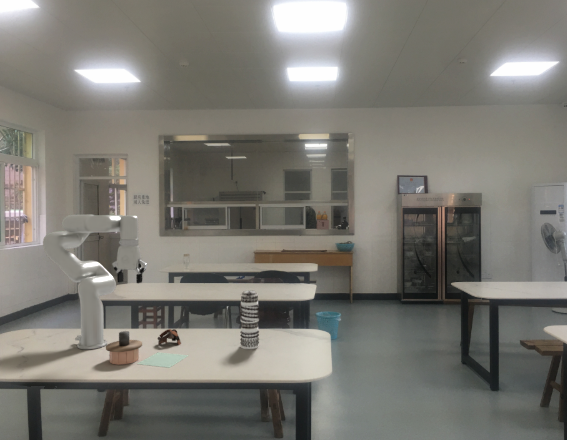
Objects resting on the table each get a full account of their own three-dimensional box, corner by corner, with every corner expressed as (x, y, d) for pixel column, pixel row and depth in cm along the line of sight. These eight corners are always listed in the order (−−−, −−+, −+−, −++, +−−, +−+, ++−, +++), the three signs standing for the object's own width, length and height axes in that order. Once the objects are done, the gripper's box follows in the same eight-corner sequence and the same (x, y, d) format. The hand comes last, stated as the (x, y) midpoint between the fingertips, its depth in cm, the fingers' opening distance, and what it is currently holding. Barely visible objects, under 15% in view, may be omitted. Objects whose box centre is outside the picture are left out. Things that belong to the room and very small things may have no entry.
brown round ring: (179, 349, 194) (170, 334, 192) (162, 357, 195) (152, 343, 193) (186, 335, 205) (177, 321, 203) (169, 343, 207) (160, 329, 205)
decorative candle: (247, 350, 189) (247, 294, 189) (235, 346, 196) (235, 291, 196) (264, 346, 195) (263, 291, 195) (251, 342, 202) (251, 288, 202)
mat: (136, 365, 172) (136, 363, 172) (157, 353, 186) (157, 352, 186) (169, 368, 167) (169, 367, 167) (188, 356, 182) (188, 355, 182)
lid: (98, 350, 172) (97, 335, 171) (120, 340, 185) (120, 327, 185) (128, 353, 168) (127, 338, 167) (149, 343, 181) (149, 329, 181)
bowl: (104, 364, 173) (103, 349, 173) (121, 355, 183) (121, 341, 183) (127, 367, 169) (127, 351, 169) (144, 358, 180) (144, 343, 180)
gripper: (107, 243, 188) (107, 282, 188) (141, 244, 183) (141, 284, 183) (118, 242, 195) (118, 280, 195) (151, 243, 190) (151, 281, 190)
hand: (129, 282), depth 189 cm, fingers open, 9 cm apart
